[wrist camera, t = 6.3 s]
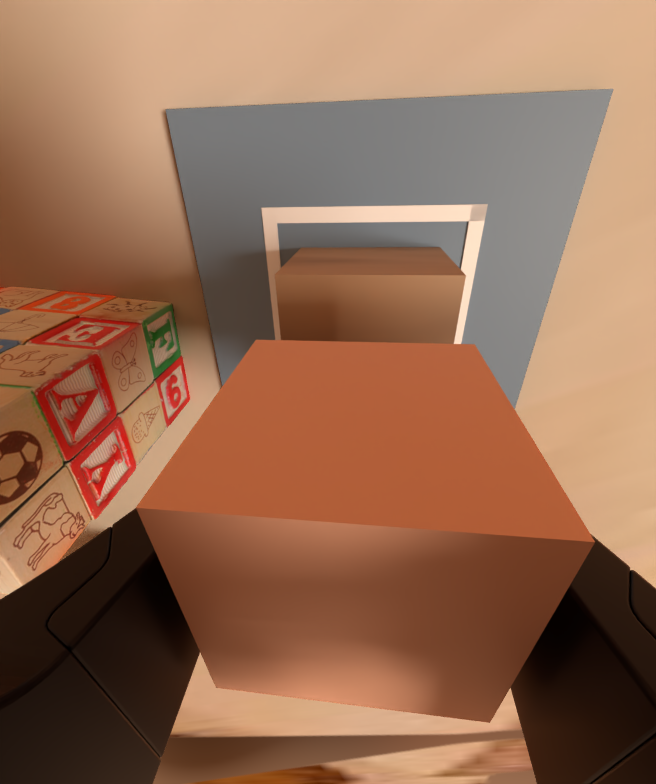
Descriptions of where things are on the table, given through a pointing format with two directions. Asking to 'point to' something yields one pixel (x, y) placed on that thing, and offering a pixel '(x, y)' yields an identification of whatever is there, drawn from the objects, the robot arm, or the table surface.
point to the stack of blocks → (76, 413)
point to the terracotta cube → (365, 528)
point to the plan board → (389, 202)
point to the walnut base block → (370, 295)
